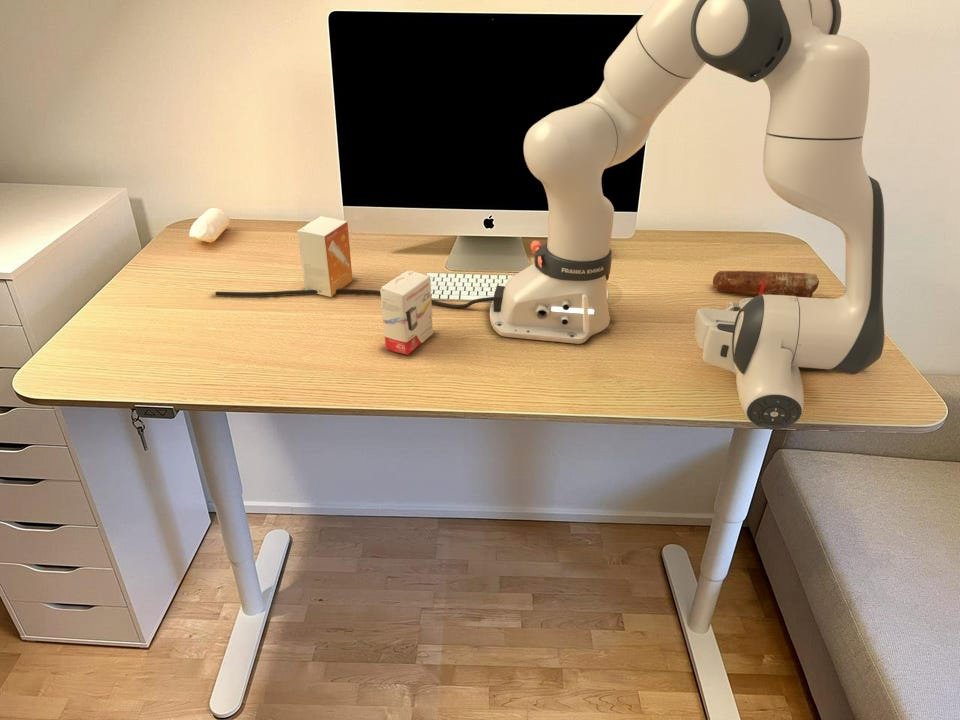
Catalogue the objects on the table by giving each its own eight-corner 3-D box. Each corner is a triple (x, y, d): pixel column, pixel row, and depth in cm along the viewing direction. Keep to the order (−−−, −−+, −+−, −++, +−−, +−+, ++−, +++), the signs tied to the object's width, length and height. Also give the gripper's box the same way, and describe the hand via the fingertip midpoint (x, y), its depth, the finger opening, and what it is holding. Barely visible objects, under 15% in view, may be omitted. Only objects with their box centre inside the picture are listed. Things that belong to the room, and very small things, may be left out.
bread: (813, 308, 138) (821, 282, 134) (711, 294, 142) (716, 269, 139) (809, 292, 143) (817, 267, 139) (711, 280, 147) (716, 255, 144)
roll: (185, 251, 155) (179, 227, 152) (206, 229, 165) (201, 206, 162) (212, 252, 155) (207, 228, 152) (232, 230, 165) (227, 207, 162)
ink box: (407, 357, 122) (403, 296, 115) (383, 349, 124) (378, 288, 117) (434, 334, 128) (432, 275, 121) (411, 326, 130) (408, 268, 124)
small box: (331, 298, 139) (324, 236, 131) (304, 291, 141) (295, 230, 134) (354, 280, 145) (348, 220, 138) (327, 274, 147) (320, 215, 140)
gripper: (841, 344, 106) (825, 300, 117) (699, 326, 110) (697, 285, 121) (829, 378, 110) (815, 332, 121) (692, 360, 113) (691, 317, 124)
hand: (755, 308), depth 121 cm, fingers closed on beverage cup, 6 cm apart
